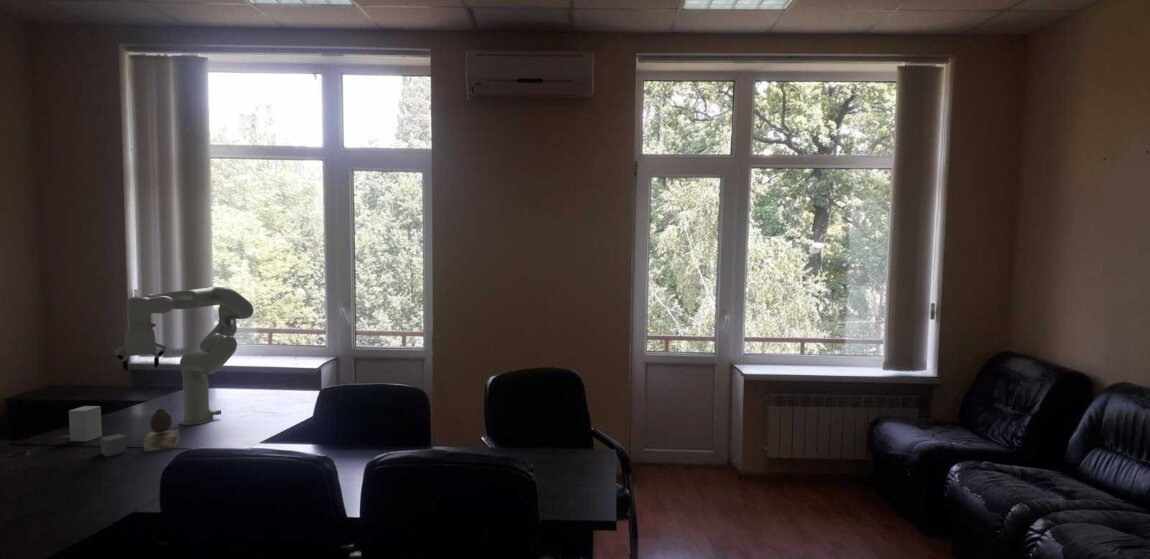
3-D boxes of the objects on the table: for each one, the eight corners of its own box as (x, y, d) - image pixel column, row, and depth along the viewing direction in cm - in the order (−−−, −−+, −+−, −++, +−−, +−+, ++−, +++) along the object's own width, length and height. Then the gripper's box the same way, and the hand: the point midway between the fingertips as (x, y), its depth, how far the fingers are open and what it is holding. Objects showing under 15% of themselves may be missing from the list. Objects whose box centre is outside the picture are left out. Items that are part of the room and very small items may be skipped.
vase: (171, 429, 226) (170, 406, 228) (149, 433, 222) (148, 410, 224) (173, 430, 232) (171, 408, 233) (151, 434, 228) (150, 411, 230)
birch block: (179, 441, 234) (179, 429, 233) (175, 448, 225) (174, 436, 224) (149, 445, 229) (149, 432, 229) (143, 452, 220) (143, 439, 220)
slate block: (120, 449, 223) (119, 433, 223) (126, 452, 220) (125, 436, 219) (101, 453, 218) (100, 438, 218) (106, 456, 215) (106, 441, 214)
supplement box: (102, 436, 238) (101, 406, 238) (85, 442, 231) (84, 410, 230) (86, 435, 239) (85, 405, 239) (69, 441, 232) (67, 410, 231)
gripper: (165, 324, 244) (166, 364, 245) (112, 328, 233) (114, 370, 234) (166, 326, 238) (168, 367, 239) (113, 330, 227) (114, 373, 228)
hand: (141, 368), depth 236 cm, fingers open, 9 cm apart
